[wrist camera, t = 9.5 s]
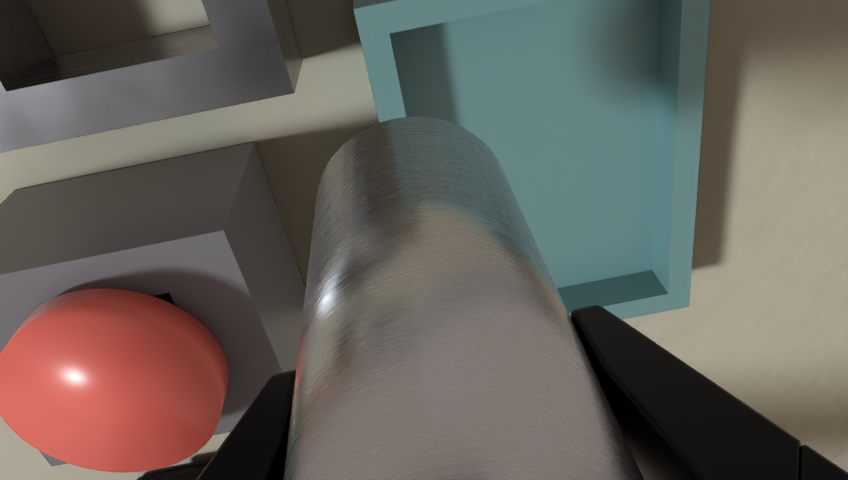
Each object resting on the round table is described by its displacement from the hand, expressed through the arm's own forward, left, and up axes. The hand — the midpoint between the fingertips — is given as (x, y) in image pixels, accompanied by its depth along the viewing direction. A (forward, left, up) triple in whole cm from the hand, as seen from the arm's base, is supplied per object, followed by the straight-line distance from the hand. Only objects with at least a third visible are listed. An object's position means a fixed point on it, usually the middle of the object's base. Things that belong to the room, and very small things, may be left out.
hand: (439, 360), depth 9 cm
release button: (-4, +9, -9) cm, 13 cm away
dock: (-4, +9, -12) cm, 16 cm away
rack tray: (-3, -4, -12) cm, 13 cm away
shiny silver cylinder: (0, 0, -5) cm, 5 cm away
